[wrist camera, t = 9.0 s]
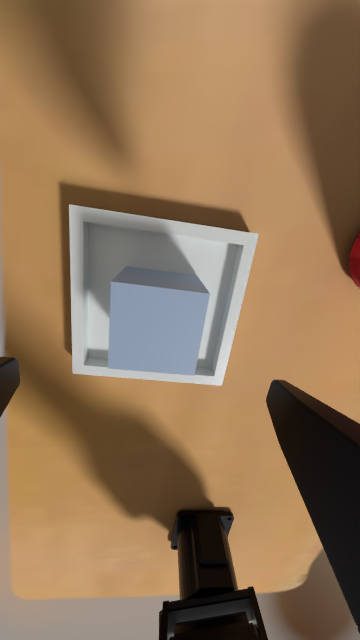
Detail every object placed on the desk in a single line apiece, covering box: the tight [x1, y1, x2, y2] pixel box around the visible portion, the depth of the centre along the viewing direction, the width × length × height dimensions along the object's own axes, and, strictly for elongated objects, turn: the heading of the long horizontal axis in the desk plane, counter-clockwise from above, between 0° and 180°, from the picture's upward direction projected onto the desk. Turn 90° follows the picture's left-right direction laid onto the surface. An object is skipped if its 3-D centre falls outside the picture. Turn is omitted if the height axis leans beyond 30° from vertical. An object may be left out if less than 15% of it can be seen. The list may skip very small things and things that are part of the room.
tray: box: [69, 204, 259, 386], centre depth 17 cm, size 12×12×2 cm
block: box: [108, 266, 210, 376], centre depth 15 cm, size 5×5×5 cm
